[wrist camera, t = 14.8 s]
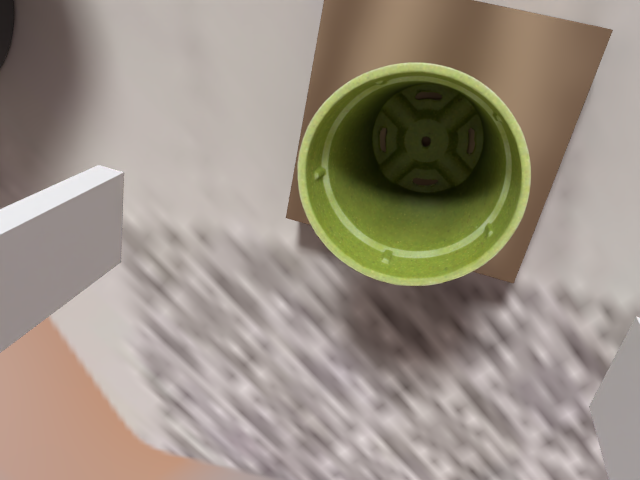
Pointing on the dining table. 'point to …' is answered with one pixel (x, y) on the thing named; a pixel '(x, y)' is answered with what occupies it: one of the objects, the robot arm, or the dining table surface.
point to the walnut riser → (477, 61)
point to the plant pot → (414, 174)
